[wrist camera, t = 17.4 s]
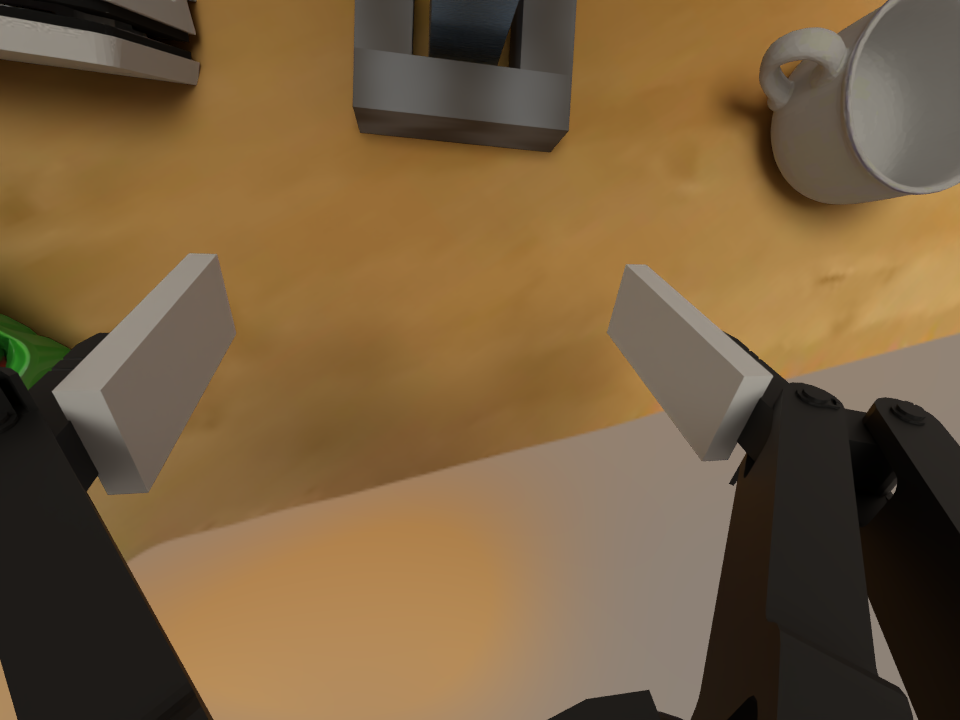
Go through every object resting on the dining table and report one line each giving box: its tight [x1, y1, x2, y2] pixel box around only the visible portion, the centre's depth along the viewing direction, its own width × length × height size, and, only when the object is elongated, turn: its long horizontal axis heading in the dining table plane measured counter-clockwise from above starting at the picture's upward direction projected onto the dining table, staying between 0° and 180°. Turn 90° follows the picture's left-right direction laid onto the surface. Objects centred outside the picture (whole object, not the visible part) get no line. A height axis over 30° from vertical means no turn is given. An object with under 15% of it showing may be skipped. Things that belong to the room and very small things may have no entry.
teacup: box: [759, 0, 960, 205], centre depth 28 cm, size 14×11×8 cm
